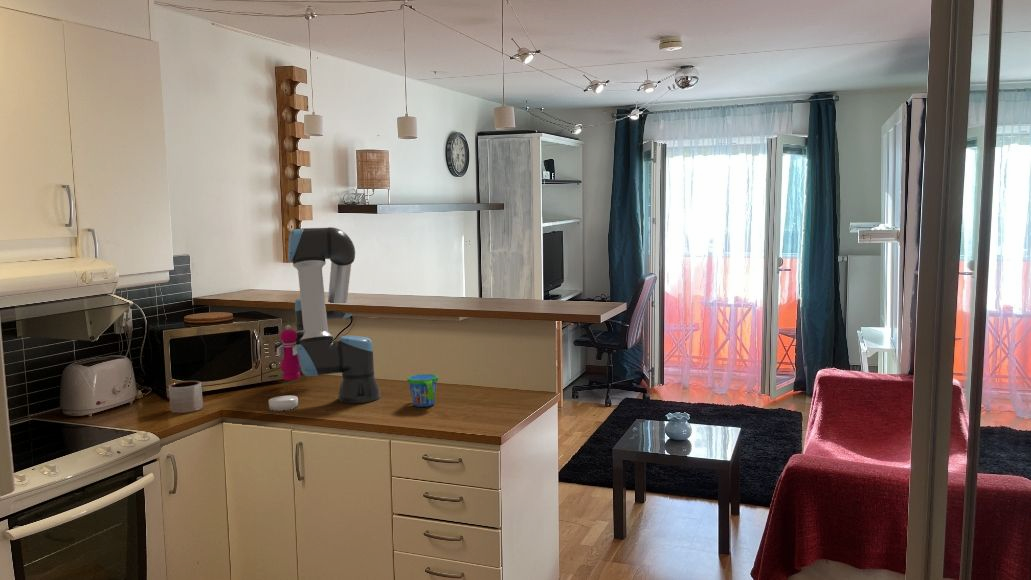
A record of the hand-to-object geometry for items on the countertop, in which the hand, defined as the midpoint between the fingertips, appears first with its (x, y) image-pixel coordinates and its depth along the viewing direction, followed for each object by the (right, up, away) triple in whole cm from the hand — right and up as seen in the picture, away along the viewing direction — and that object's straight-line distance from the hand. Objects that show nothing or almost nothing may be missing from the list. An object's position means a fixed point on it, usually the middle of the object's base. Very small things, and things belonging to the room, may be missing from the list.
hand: (285, 351), depth 282 cm
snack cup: (+51, -18, -8) cm, 55 cm away
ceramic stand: (0, -20, -4) cm, 20 cm away
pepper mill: (0, -11, +7) cm, 12 cm away
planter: (-35, -21, -3) cm, 40 cm away
